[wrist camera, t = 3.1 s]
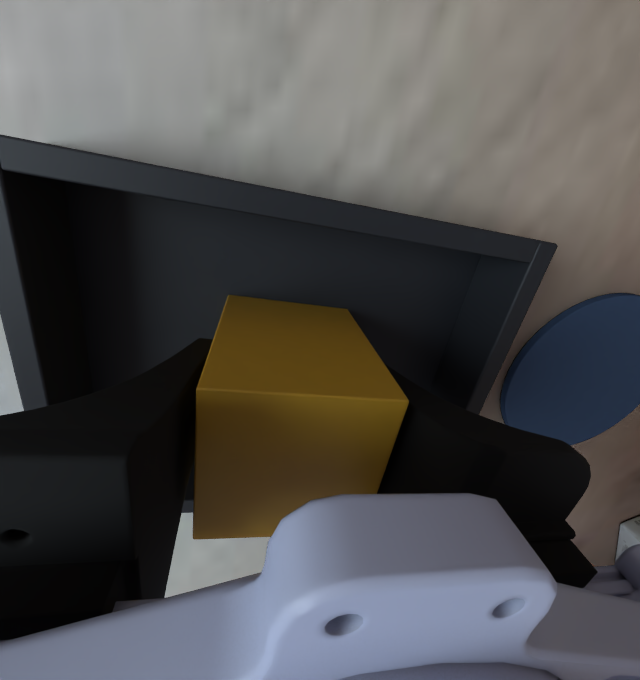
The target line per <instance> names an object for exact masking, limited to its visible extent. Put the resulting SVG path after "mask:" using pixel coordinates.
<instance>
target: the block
mask: <svg viewBox="0 0 640 680" xmlns="http://www.w3.org/2000/svg"><path fill="white" fill-rule="evenodd" d="M408 404H409V400H408V398H407V397H406V395H405V394H404V393H403V391H402V390H401V388H400V387H399V385H398V384H397V382H396V381H395V379H394V378H393V376H392V375H391V373H390V372H389V370H388V369H387V367H386V366H385V364H384V363H383V361H382V360H381V358H380V357H379V355H378V354H377V352H376V351H375V349H374V348H373V346H372V345H371V344H370V342H369V341H368V339H367V338H366V336H365V335H364V333H363V332H362V330H361V329H360V327H359V326H358V324H357V323H356V321H355V320H354V318H353V317H352V315H351V314H350V312H349V311H348V309H342V308H334V307H326V306H318V305H309V304H301V303H293V302H285V301H277V300H268V299H260V298H252V297H244V296H235V295H228V297H227V300H226V303H225V306H224V309H223V312H222V315H221V318H220V321H219V324H218V327H217V330H216V333H215V336H214V338H213V341H212V344H211V347H210V350H209V353H208V356H207V359H206V362H205V365H204V368H203V371H202V374H201V377H200V380H199V383H198V386H197V388H196V421H195V463H194V505H193V539H219V538H246V537H271V536H272V535H273V533H274V531H275V529H276V528H277V526H278V524H279V523H280V521H281V519H283V518H284V517H285V516H286V515H288V514H289V513H291V512H293V511H294V510H296V509H298V508H299V507H301V506H302V505H304V504H306V503H307V502H309V501H310V500H314V499H320V498H325V497H330V496H335V495H340V494H377V492H378V489H379V486H380V483H381V481H382V478H383V475H384V472H385V469H386V466H387V464H388V461H389V458H390V455H391V452H392V449H393V446H394V444H395V441H396V438H397V435H398V432H399V429H400V427H401V424H402V421H403V418H404V415H405V412H406V410H407V407H408Z"/></svg>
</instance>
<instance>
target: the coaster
mask: <svg viewBox="0 0 640 680" xmlns="http://www.w3.org/2000/svg"><path fill="white" fill-rule="evenodd" d="M500 404H501V413H502V417H503V420H504V422H505V424H506V425H508V426H511V427H514V428H518V429H521V430H524V431H528V432H532V433H536V434H540V435H543V436H547V437H551V438H555V439H559V440H562V441H564V442H566V443H567V444H569V445H573V444H577V443H580V442H583V441H585V440H588V439H590V438H592V437H595V436H596V435H598V434H600V433H602V432H604V431H606V430H607V429H609V428H611V427H612V426H614V425H615V424H616V423H618V422H619V421H621V420H622V419H623V418H625V417H626V416H627V415H628V414H629V413H631V412H632V411H633V410H634V409H635V408H636V407H637V406H638V405H639V404H640V296H639V295H635V294H629V293H614V294H607V295H602V296H597V297H594V298H591V299H588V300H586V301H583V302H581V303H579V304H577V305H574V306H573V307H571V308H569V309H567V310H566V311H564V312H562V313H561V314H559V315H558V316H556V317H555V318H553V319H552V320H551V321H549V322H548V323H547V324H546V325H545V326H543V327H542V328H541V329H540V330H539V331H538V332H537V333H536V334H535V335H534V336H533V337H532V338H531V339H530V340H529V341H528V342H527V344H526V345H525V346H524V347H523V348H522V350H521V351H520V352H519V354H518V355H517V357H516V358H515V360H514V362H513V363H512V365H511V367H510V369H509V371H508V373H507V376H506V378H505V380H504V384H503V387H502V392H501V399H500Z"/></svg>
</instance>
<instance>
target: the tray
mask: <svg viewBox="0 0 640 680" xmlns="http://www.w3.org/2000/svg"><path fill="white" fill-rule="evenodd" d="M556 249H557V244H555V243H550V242H545V241H540V240H535V239H530V238H525V237H520V236H515V235H509V234H504V233H499V232H494V231H489V230H484V229H479V228H474V227H469V226H464V225H459V224H453V223H448V222H443V221H438V220H433V219H428V218H423V217H418V216H413V215H408V214H403V213H397V212H392V211H387V210H382V209H377V208H372V207H367V206H362V205H357V204H352V203H346V202H341V201H336V200H331V199H326V198H321V197H316V196H311V195H306V194H301V193H296V192H290V191H285V190H280V189H275V188H270V187H265V186H260V185H255V184H250V183H245V182H240V181H234V180H229V179H224V178H219V177H214V176H209V175H204V174H199V173H194V172H189V171H183V170H178V169H173V168H168V167H163V166H158V165H153V164H148V163H143V162H138V161H133V160H127V159H122V158H117V157H112V156H107V155H102V154H97V153H92V152H87V151H82V150H77V149H71V148H66V147H61V146H56V145H51V144H46V143H41V142H36V141H31V140H26V139H20V138H15V137H10V136H5V135H0V314H1V318H2V322H3V327H4V331H5V335H6V339H7V343H8V347H9V351H10V355H11V359H12V363H13V367H14V372H15V376H16V380H17V384H18V388H19V392H20V396H21V400H22V404H23V408H24V411H28V410H32V409H37V408H41V407H46V406H50V405H53V404H57V403H61V402H65V401H69V400H72V399H76V398H79V397H83V396H86V395H89V394H92V393H95V392H97V391H100V390H103V389H106V388H109V387H112V386H114V385H117V384H120V383H122V382H124V381H127V380H129V379H131V378H133V377H136V376H138V375H140V374H142V373H144V372H146V371H148V370H150V369H151V368H153V367H155V366H157V365H158V364H160V363H162V362H164V361H165V360H167V359H169V358H170V357H172V356H173V355H175V354H176V353H178V352H179V351H181V350H182V349H184V348H185V347H187V346H188V345H190V344H191V343H192V342H194V341H195V340H197V339H198V338H205V339H213V338H214V336H215V333H216V330H217V327H218V324H219V321H220V318H221V315H222V312H223V309H224V306H225V303H226V300H227V297H228V295H235V296H244V297H252V298H260V299H268V300H277V301H285V302H293V303H301V304H309V305H318V306H326V307H334V308H342V309H348V311H349V312H350V314H351V315H352V317H353V318H354V320H355V321H356V323H357V324H358V326H359V327H360V329H361V330H362V332H363V333H364V335H365V336H366V338H367V339H368V341H369V342H370V344H371V345H372V346H373V348H374V349H375V351H376V352H377V354H378V355H379V357H380V358H381V360H382V361H383V363H385V364H386V365H388V366H389V367H391V368H392V369H394V370H395V371H397V372H398V373H400V374H401V375H403V376H404V377H406V378H407V379H409V380H410V381H412V382H413V383H415V384H417V385H418V386H420V387H422V388H423V389H425V390H427V391H429V392H430V393H432V394H434V395H436V396H438V397H440V398H442V399H444V400H446V401H448V402H450V403H452V404H454V405H456V406H458V407H461V408H463V409H465V410H468V411H470V412H473V413H475V414H477V415H479V413H480V411H481V409H482V407H483V404H484V402H485V400H486V398H487V396H488V394H489V392H490V390H491V387H492V385H493V383H494V381H495V379H496V377H497V375H498V372H499V370H500V368H501V366H502V364H503V362H504V360H505V358H506V355H507V353H508V351H509V349H510V347H511V345H512V343H513V340H514V338H515V336H516V334H517V332H518V330H519V328H520V325H521V323H522V321H523V319H524V317H525V315H526V313H527V311H528V308H529V306H530V304H531V302H532V300H533V298H534V296H535V293H536V291H537V289H538V287H539V285H540V283H541V281H542V279H543V276H544V274H545V272H546V270H547V268H548V266H549V264H550V261H551V259H552V257H553V255H554V253H555V251H556ZM194 463H195V460H194ZM194 463H193V466H192V470H191V473H190V477H189V481H188V485H187V490H186V494H185V499H184V503H183V508H182V512H181V513H190V512H193V505H194Z"/></svg>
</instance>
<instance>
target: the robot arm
mask: <svg viewBox="0 0 640 680" xmlns="http://www.w3.org/2000/svg"><path fill="white" fill-rule="evenodd" d="M212 341H213V339H205V338H198V339H197V340H195V341H194V342H192V343H191V344H190V345H188V346H187V347H185V348H184V349H182V350H181V351H179V352H178V353H176V354H175V355H173V356H172V357H170V358H169V359H167V360H165V361H164V362H162V363H160V364H158V365H157V366H155V367H153V368H151V369H150V370H148V371H146V372H144V373H142V374H140V375H138V376H136V377H133V378H131V379H129V380H127V381H124V382H122V383H120V384H117V385H114V386H112V387H109V388H106V389H103V390H100V391H97V392H95V393H92V394H89V395H86V396H83V397H79V398H76V399H72V400H69V401H65V402H61V403H57V404H53V405H50V406H46V407H41V408H37V409H32V410H28V411H22V412H17V413H12V414H7V415H2V416H0V680H640V544H637V545H633V546H631V547H629V548H627V549H626V550H625V551H624V552H622V553H621V555H620V556H619V557H618V558H617V560H616V561H615V565H611V566H597V567H593V566H592V564H591V563H590V562H589V561H588V560H587V559H586V557H585V556H584V555H583V554H582V553H581V552H580V550H579V549H578V548H577V547H576V546H575V545H574V544H573V542H572V541H571V540H570V539H573V538H574V537H575V536H576V535H575V531H574V530H573V529H572V528H571V527H570V525H569V524H568V523H567V522H566V521H565V519H566V518H567V517H568V515H569V514H570V512H571V511H572V510H573V508H574V507H575V505H576V504H577V503H578V501H579V500H580V499H581V497H582V496H583V494H584V492H585V491H586V489H587V487H588V485H589V481H590V477H591V472H590V465H589V463H588V462H587V460H586V459H585V458H584V457H583V456H582V455H581V454H579V453H578V452H577V451H576V450H575V449H573V448H572V447H571V446H570V445H569V444H567V443H566V442H564V441H562V440H559V439H555V438H551V437H547V436H543V435H540V434H536V433H532V432H528V431H524V430H521V429H518V428H514V427H511V426H508V425H505V424H502V423H499V422H496V421H493V420H491V419H488V418H485V417H482V416H480V415H477V414H475V413H473V412H470V411H468V410H465V409H463V408H461V407H458V406H456V405H454V404H452V403H450V402H448V401H446V400H444V399H442V398H440V397H438V396H436V395H434V394H432V393H430V392H429V391H427V390H425V389H423V388H422V387H420V386H418V385H417V384H415V383H413V382H412V381H410V380H409V379H407V378H406V377H404V376H403V375H401V374H400V373H398V372H397V371H395V370H394V369H392V368H391V367H389V366H388V365H386V364H385V363H384V364H385V366H386V367H387V369H388V370H389V372H390V373H391V375H392V376H393V378H394V379H395V381H396V382H397V384H398V385H399V387H400V388H401V390H402V391H403V393H404V394H405V395H406V397H407V398H408V400H409V404H408V407H407V410H406V412H405V415H404V418H403V421H402V424H401V427H400V429H399V432H398V435H397V438H396V441H395V444H394V446H393V449H392V452H391V455H390V458H389V461H388V464H387V466H386V469H385V472H384V475H383V478H382V481H381V483H380V486H379V489H378V492H377V494H340V495H335V496H330V497H325V498H320V499H314V500H310V501H309V502H307V503H306V504H304V505H302V506H301V507H299V508H298V509H296V510H294V511H293V512H291V513H289V514H288V515H286V516H285V517H284V518H283V519H281V521H280V523H279V524H278V526H277V528H276V529H275V531H274V533H273V535H272V536H271V538H270V540H269V541H268V547H267V552H266V558H265V564H264V567H263V570H262V572H261V573H257V574H253V575H250V576H246V577H242V578H239V579H235V580H231V581H227V582H224V583H220V584H216V585H212V586H209V587H205V588H201V589H198V590H194V591H190V592H186V593H183V594H179V595H175V596H172V597H168V598H164V596H165V590H166V585H167V580H168V575H169V570H170V565H171V560H172V555H173V550H174V546H175V541H176V536H177V531H178V526H179V522H180V517H181V512H182V508H183V503H184V499H185V494H186V490H187V485H188V481H189V477H190V473H191V470H192V466H193V463H194V460H195V421H196V388H197V386H198V383H199V380H200V377H201V374H202V371H203V368H204V365H205V362H206V359H207V356H208V353H209V350H210V347H211V344H212Z"/></svg>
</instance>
